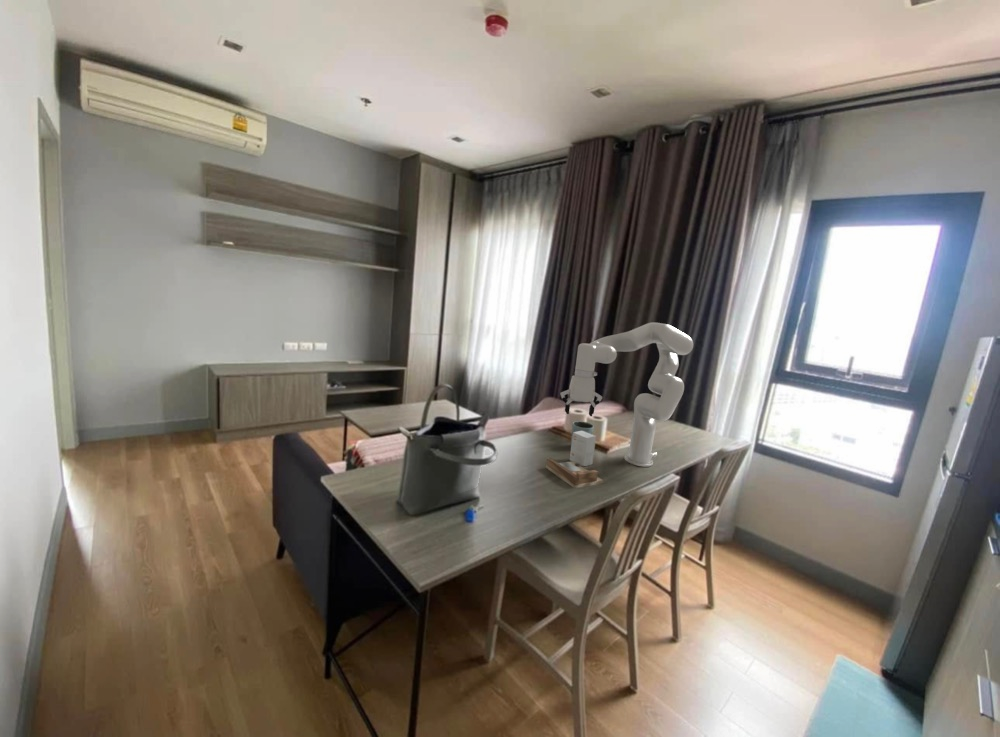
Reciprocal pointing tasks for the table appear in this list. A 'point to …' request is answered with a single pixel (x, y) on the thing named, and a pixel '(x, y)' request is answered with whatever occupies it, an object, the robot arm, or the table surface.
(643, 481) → the table surface
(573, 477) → the wooden tray
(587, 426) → the teal cup
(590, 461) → the small box
